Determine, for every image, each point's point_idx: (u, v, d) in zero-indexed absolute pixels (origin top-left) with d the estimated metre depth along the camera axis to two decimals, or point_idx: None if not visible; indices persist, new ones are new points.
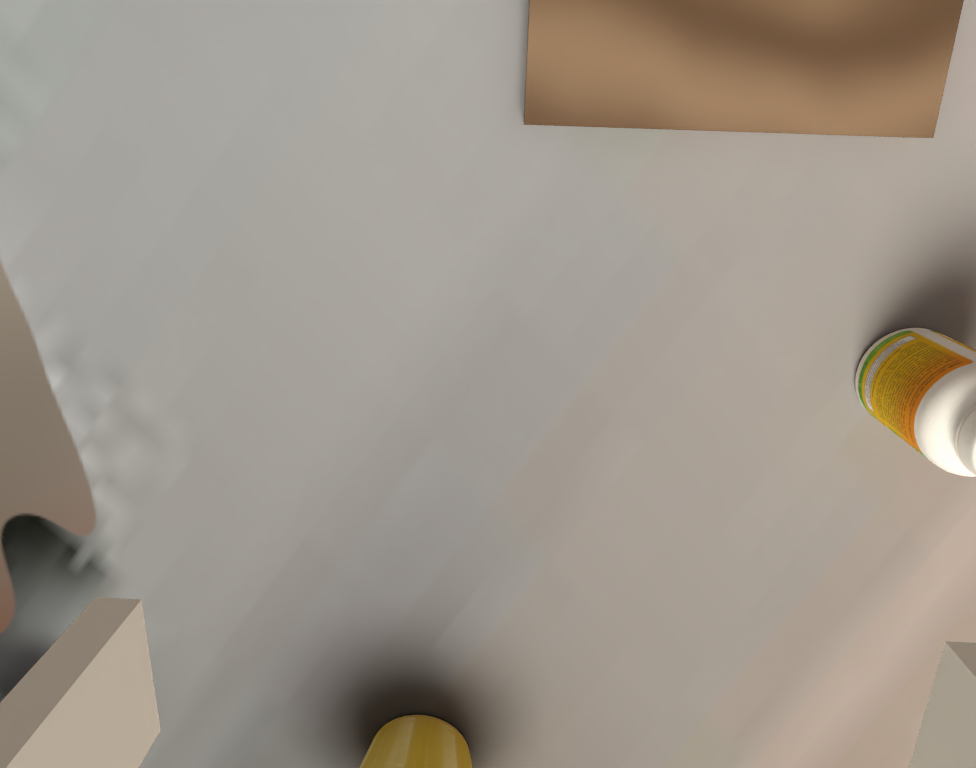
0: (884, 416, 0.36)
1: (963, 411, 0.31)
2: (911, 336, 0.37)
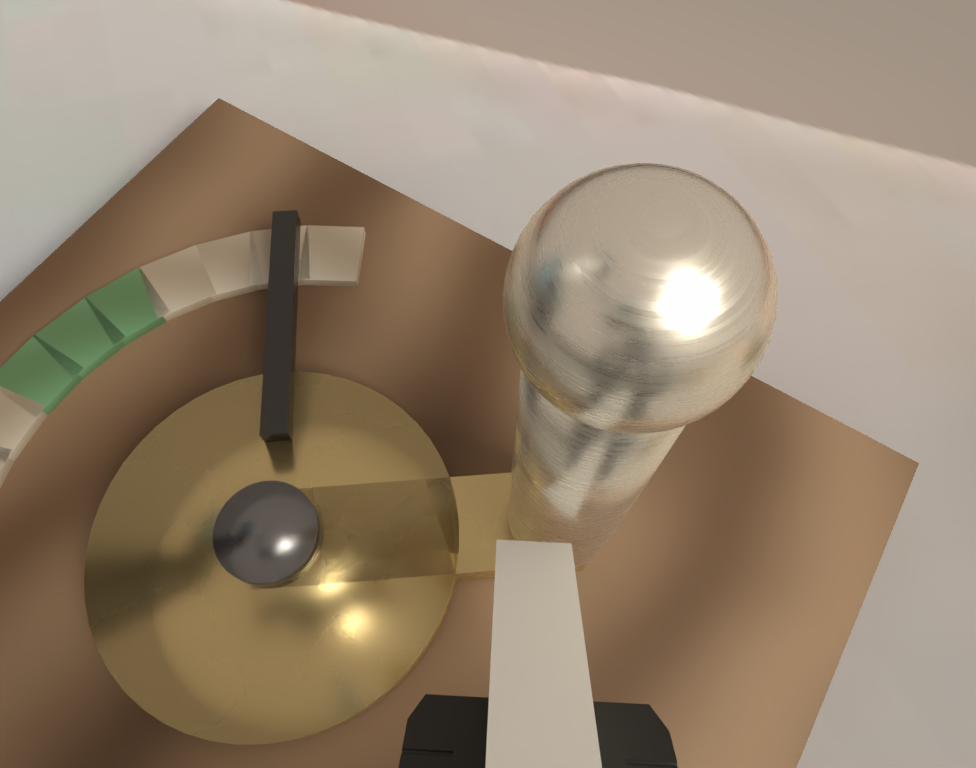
0: None
1: None
2: None
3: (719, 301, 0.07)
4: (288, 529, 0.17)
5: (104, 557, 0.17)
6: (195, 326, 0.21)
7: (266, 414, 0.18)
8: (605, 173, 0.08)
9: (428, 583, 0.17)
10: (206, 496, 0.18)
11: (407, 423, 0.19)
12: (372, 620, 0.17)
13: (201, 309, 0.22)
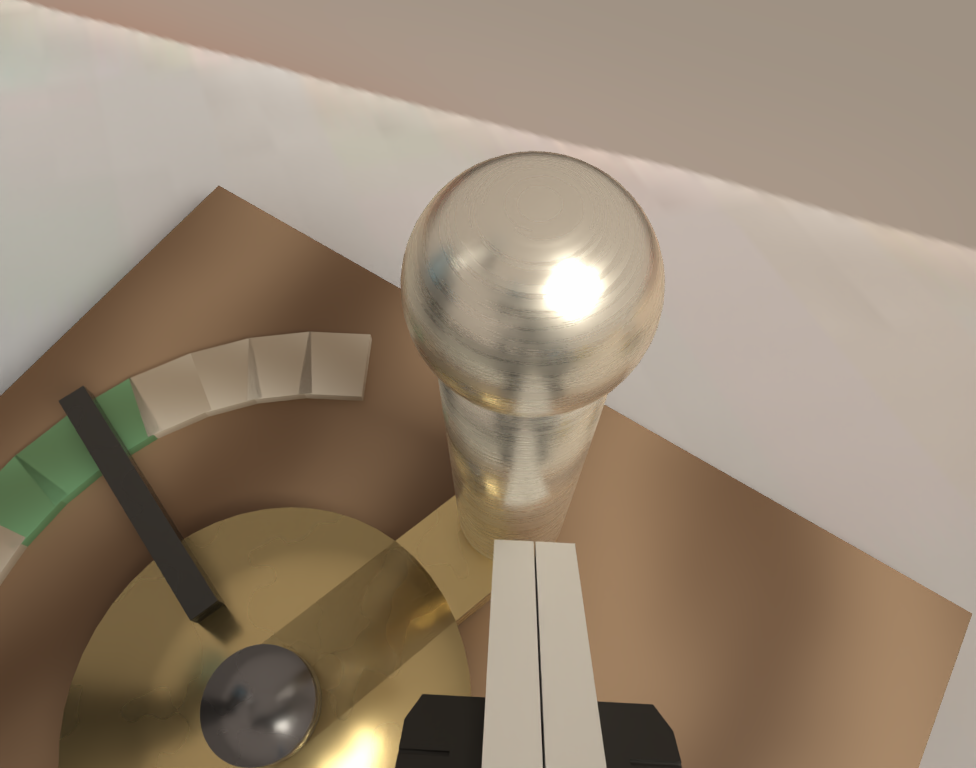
0: None
1: None
2: None
3: (622, 247, 0.08)
4: (280, 687, 0.15)
5: None
6: (188, 444, 0.20)
7: (184, 596, 0.17)
8: (454, 190, 0.08)
9: (437, 645, 0.17)
10: (171, 712, 0.16)
11: (325, 518, 0.18)
12: None
13: (195, 425, 0.20)
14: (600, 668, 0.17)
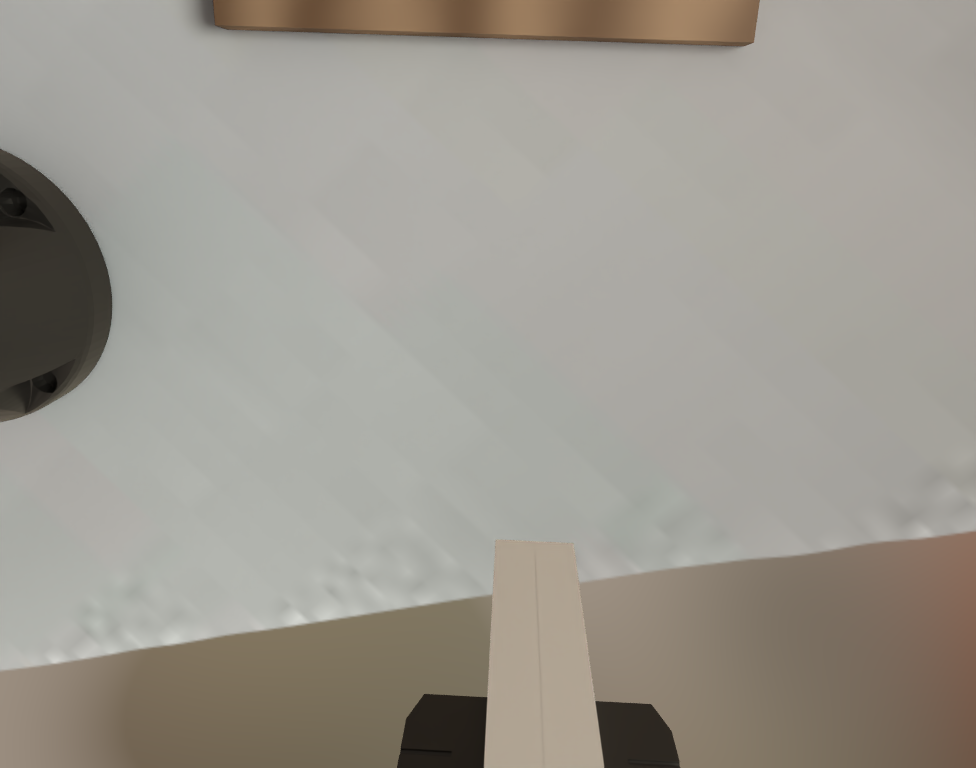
0: None
1: None
2: None
3: None
4: None
5: None
6: None
7: None
8: None
9: None
10: None
11: None
12: None
13: None
14: None
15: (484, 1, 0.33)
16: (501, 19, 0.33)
